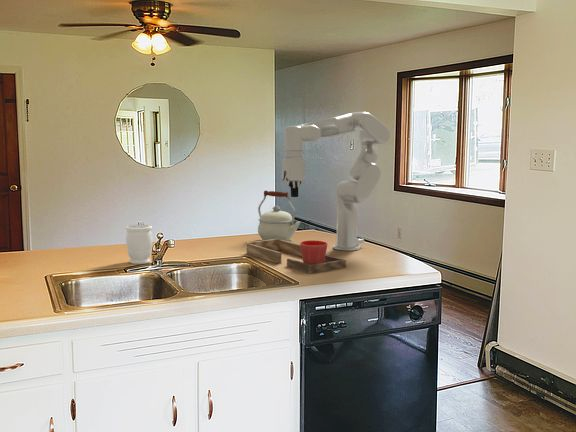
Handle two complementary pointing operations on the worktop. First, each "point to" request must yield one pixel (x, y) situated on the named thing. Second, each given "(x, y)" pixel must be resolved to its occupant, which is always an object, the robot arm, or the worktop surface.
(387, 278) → the worktop surface
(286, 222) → the kettle
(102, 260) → the worktop surface
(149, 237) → the jar
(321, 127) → the robot arm
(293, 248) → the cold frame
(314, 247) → the flower pot
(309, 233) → the worktop surface
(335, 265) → the bay
